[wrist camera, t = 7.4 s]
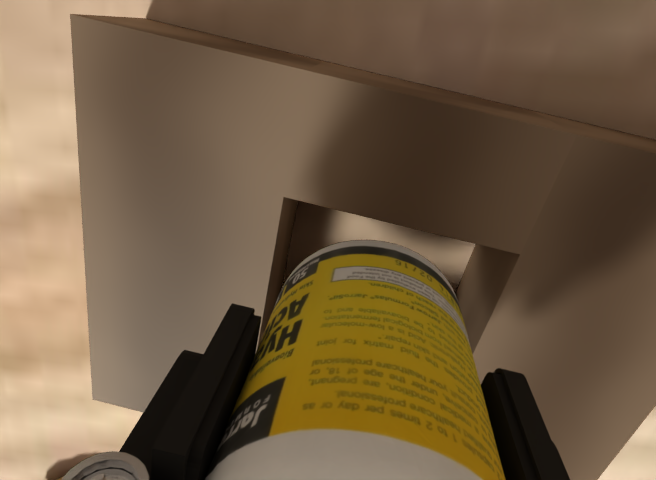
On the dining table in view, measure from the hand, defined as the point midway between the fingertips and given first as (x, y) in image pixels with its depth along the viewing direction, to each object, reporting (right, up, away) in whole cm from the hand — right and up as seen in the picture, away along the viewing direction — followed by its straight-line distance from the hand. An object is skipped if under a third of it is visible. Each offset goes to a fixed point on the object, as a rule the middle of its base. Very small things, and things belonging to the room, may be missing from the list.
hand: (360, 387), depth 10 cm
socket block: (+1, +3, +6) cm, 6 cm away
